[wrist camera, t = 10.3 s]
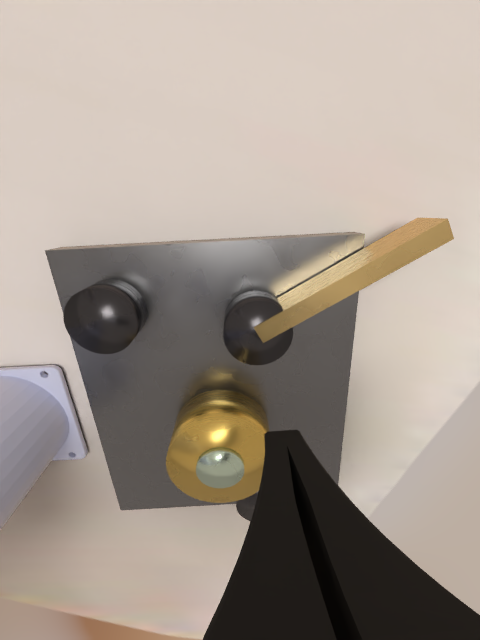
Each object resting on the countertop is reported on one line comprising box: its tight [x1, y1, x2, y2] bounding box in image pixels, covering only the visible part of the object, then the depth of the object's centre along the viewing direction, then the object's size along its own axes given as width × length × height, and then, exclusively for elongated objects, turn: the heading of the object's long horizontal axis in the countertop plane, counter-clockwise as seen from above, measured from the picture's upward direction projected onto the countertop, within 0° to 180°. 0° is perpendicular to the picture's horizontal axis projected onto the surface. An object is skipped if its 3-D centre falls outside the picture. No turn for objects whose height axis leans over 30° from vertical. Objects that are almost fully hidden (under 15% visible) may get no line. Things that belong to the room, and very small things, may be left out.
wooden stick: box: [223, 218, 454, 365], centre depth 15 cm, size 12×4×2 cm, turn 121°
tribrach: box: [45, 232, 365, 521], centre depth 18 cm, size 17×20×5 cm
